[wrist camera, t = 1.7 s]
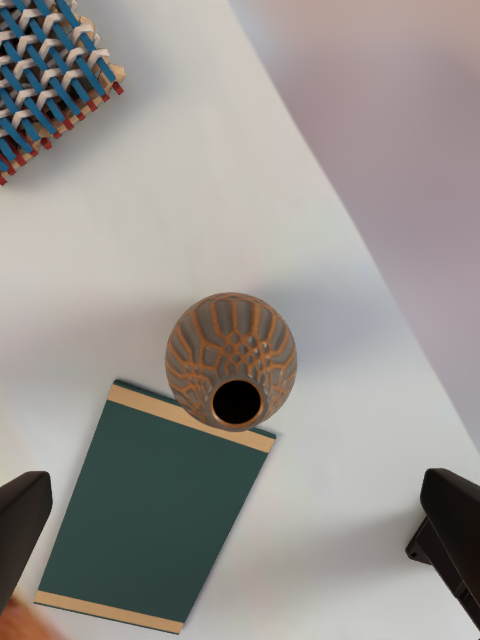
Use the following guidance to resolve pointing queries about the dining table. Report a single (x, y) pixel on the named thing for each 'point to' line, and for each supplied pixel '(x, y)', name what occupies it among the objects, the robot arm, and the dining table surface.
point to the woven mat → (46, 76)
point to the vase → (231, 361)
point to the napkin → (149, 512)
